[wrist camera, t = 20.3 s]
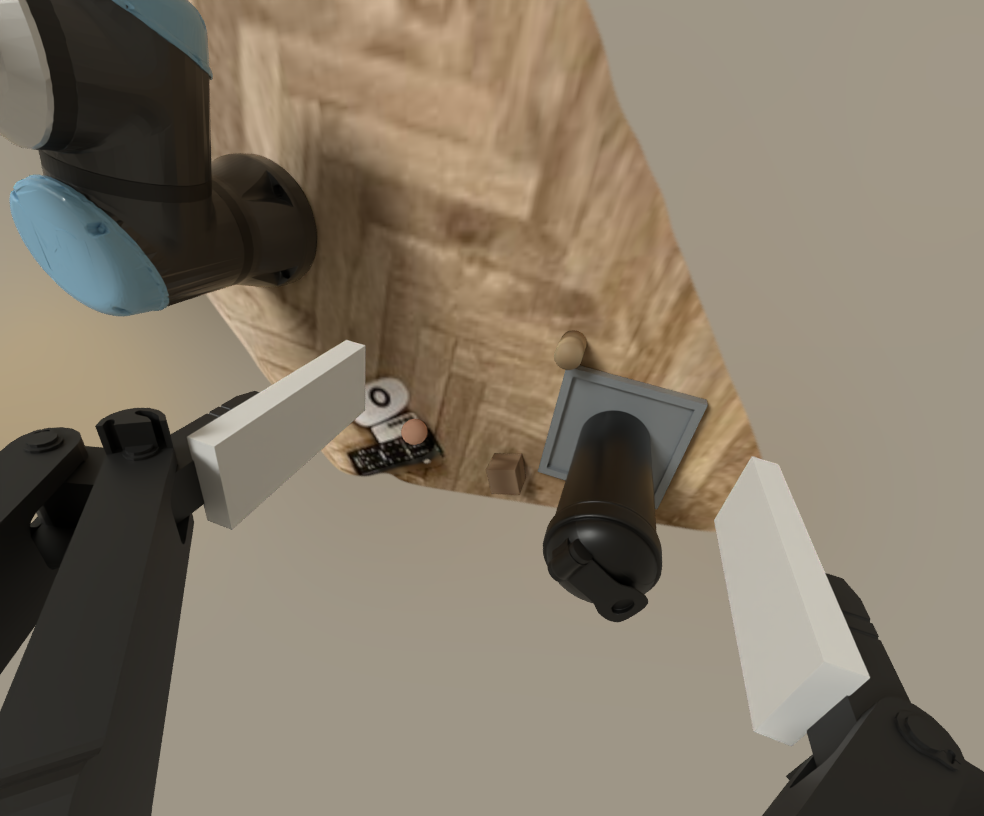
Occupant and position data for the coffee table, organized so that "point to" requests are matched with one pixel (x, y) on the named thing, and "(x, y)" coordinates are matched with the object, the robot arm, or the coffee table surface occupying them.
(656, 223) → the coffee table surface
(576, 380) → the tray
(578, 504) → the water bottle
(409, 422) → the rubber ball
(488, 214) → the coffee table surface
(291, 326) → the coffee table surface
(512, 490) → the walnut cube
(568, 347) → the cylinder
